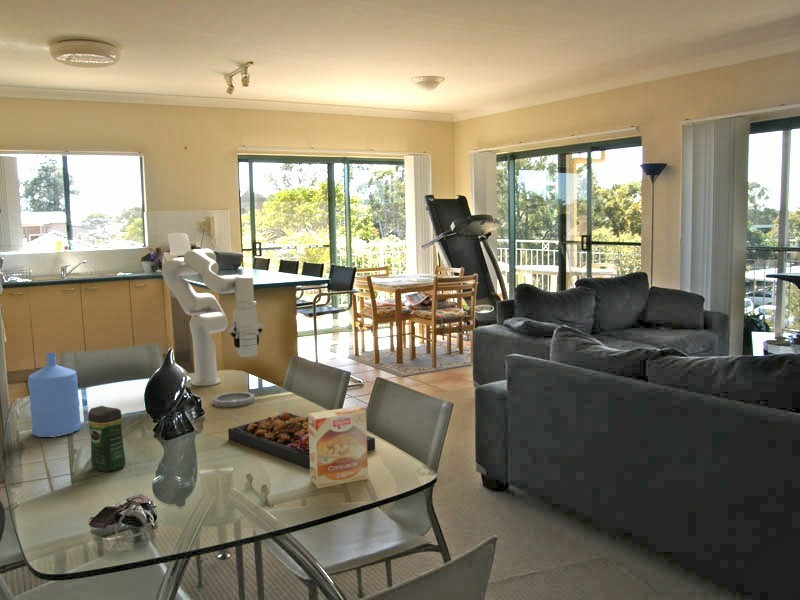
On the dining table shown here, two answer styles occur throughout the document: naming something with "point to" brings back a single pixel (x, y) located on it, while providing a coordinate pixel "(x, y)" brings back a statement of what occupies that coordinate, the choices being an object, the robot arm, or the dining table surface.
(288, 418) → the food platter
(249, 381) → the dining table surface
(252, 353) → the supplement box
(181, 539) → the dining table surface
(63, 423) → the water jug
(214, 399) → the saucer
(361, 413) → the coffeecake box
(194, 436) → the dining table surface
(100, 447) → the coffee jar
